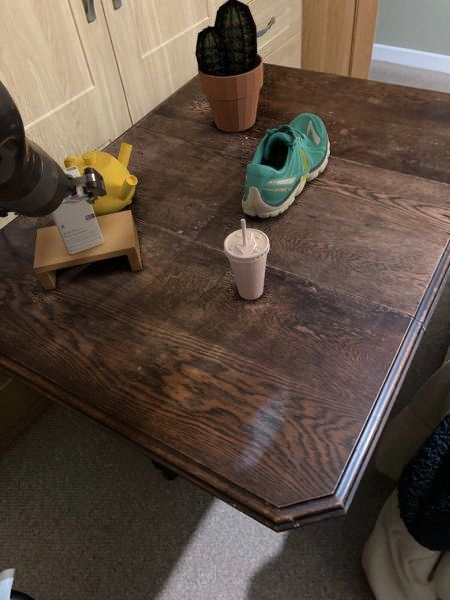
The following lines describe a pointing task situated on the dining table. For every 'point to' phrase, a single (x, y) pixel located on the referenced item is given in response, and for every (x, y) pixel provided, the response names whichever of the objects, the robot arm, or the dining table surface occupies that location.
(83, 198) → the robot arm
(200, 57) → the potted plant
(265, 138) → the running shoe
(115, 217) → the wooden display riser
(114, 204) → the teapot
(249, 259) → the smoothie
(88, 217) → the cosmetic box
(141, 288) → the dining table surface
